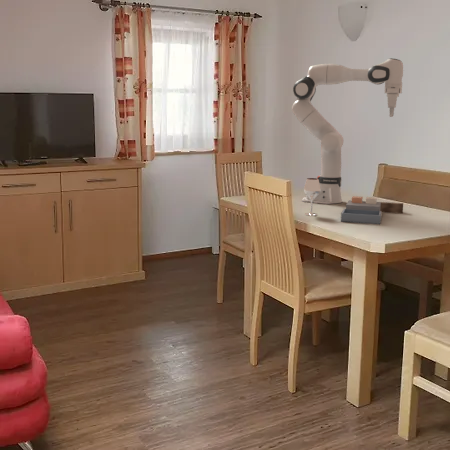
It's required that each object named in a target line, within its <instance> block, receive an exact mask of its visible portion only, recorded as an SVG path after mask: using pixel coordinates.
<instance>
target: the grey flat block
mask: <svg viewBox="0 0 450 450" xmlns="http://www.w3.org/2000/svg"><path fill="white" fill-rule="evenodd" d="M381 202H382V201H377V203H376V204H366V200H363V202H362V203H352V199H351V200H349V199H348V200H347V202H346V205H345V209H357V210H373V211H380V208H381Z"/></svg>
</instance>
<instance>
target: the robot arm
mask: <svg viewBox="0 0 450 450" xmlns="http://www.w3.org/2000/svg"><path fill="white" fill-rule="evenodd" d="M403 77H404V65H403V62H402V60H400V59H398V58H387V59H386V60H384V61H383V62H381V63H378V64H375V65H372V66H371V67H370V68H349V67H346V66H344V65H341V64H336V63H321V64H315V65H314V64H313V65H311V66H310V67H309V68H308V70H307V76H304V77H302V78H300V79H298V80H297V81H296V82H295V83H294V84H293V86H292V87H293V88H292V92H293V94H294V96H295V97H296V100H295V101H294V102H293V104H292V106H291V111H292V113H293V114H294V115H295V118H297V120H298V121H299V122H300V124H301V125H303V126H304V128H305V129H306V130H307V131H308V132H309V133H310V134H311V135H312V136H313V137H314V138H316V140H318V141H319V142H320V158H321V164H320V165H321V166H320V175H318V176H317V177H316V178H317V179H319V183H320V189H321V191H320V193H319V195H318V196H317V197H315V198H314V199H313V202H312V204H313V203H315V204H324V205H325V204H326V205H330V204H340V203H342V202H343V199H342V191H341V189H342V188H341V187H342V181H343V180H342V147H343V146H344V137H343V135H342V134H341V133H340V131H338V130H337V129H336V128H335V127H334V126H333V125H332V124H331V123H330V122H329V121H328V120H327V119H326V118H325V117H324V116H323V115H322V114H321V113H320V112H319V111H318V109H316V108H315V106H314V105H313V104H312V103H311V101H312V100H313V98H314V96H315V94H316V92H317V91H316V90H317V89H316V87H318V86H320V85H326V86H329V85H340V84H344V83H347V82H352V81H353V82H354V81H355V82H356V81H357V82H360V81H361V82H362V81H363V82H370V83H372V84H374V85H381V84H382V85H383V84H384V94H386V97H387V108H389V115H388V116H389V118H392V117H393V118H394V114H395V113H394V111H395V108H396V107H397V100H398V97H400V94H402V93H403V92H402V91H403ZM301 201H302V202H305V203H311V200H310V198H309V197H308V196H307V195H306V194H305V196H304V197H302V199H301Z"/></svg>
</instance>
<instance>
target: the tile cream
mask: <svg viewBox="0 0 450 450" xmlns="http://www.w3.org/2000/svg"><path fill="white" fill-rule="evenodd" d="M365 201H366V204H376V203H377V202H378V197H376V196H375V197H371V196H367V197H366V199H365Z"/></svg>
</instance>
